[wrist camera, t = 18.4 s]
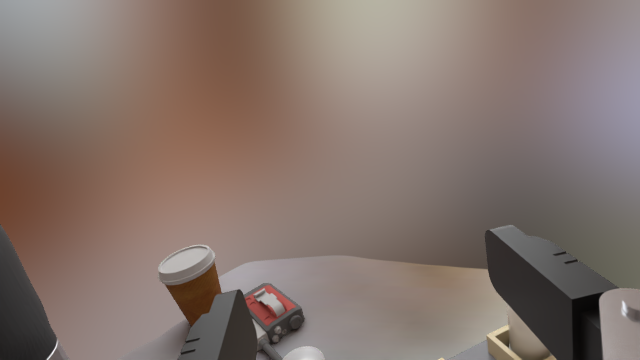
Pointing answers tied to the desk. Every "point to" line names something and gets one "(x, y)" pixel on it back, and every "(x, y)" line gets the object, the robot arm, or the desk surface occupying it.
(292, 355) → the cylinder
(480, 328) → the desk surface
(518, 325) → the cylinder
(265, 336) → the walkie-talkie
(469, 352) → the fuse block
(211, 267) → the disposable coffee cup
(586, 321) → the robot arm
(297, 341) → the desk surface
